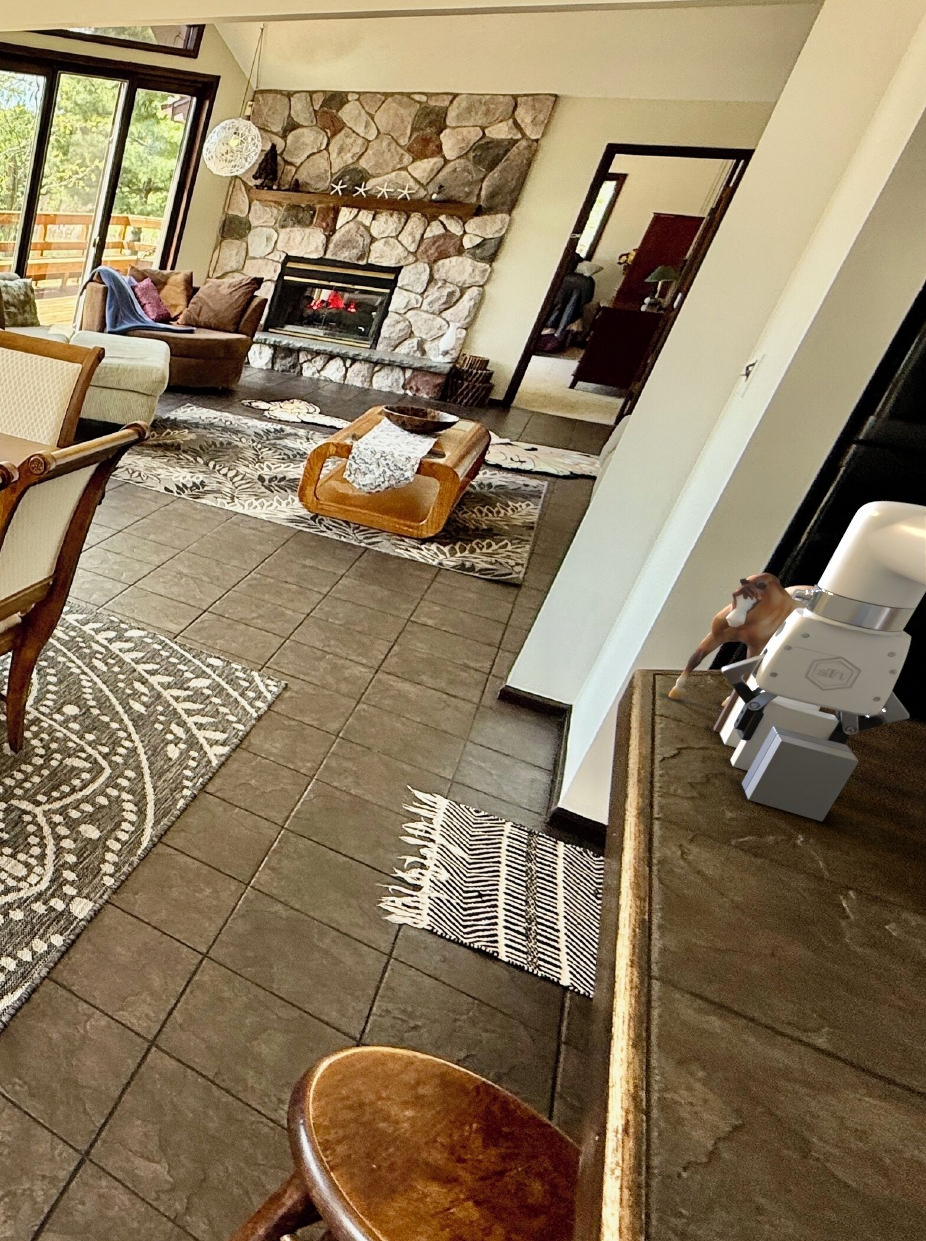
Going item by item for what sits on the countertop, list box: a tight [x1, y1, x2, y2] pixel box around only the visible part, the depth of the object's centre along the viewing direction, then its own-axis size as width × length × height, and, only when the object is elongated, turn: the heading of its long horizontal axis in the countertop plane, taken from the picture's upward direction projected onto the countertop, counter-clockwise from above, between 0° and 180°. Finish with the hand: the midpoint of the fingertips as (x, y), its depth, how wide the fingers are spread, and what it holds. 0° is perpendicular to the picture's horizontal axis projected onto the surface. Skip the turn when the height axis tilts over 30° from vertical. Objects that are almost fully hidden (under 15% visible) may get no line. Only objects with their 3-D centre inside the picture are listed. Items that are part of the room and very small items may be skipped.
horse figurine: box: [668, 572, 814, 708], centre depth 123 cm, size 31×8×21 cm, turn 100°
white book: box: [730, 700, 839, 772], centre depth 106 cm, size 6×2×9 cm, turn 52°
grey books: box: [741, 726, 860, 822], centre depth 101 cm, size 6×4×8 cm
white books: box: [713, 672, 822, 748], centre depth 112 cm, size 7×5×10 cm
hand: (780, 745), depth 107 cm, fingers closed on white book, 5 cm apart
